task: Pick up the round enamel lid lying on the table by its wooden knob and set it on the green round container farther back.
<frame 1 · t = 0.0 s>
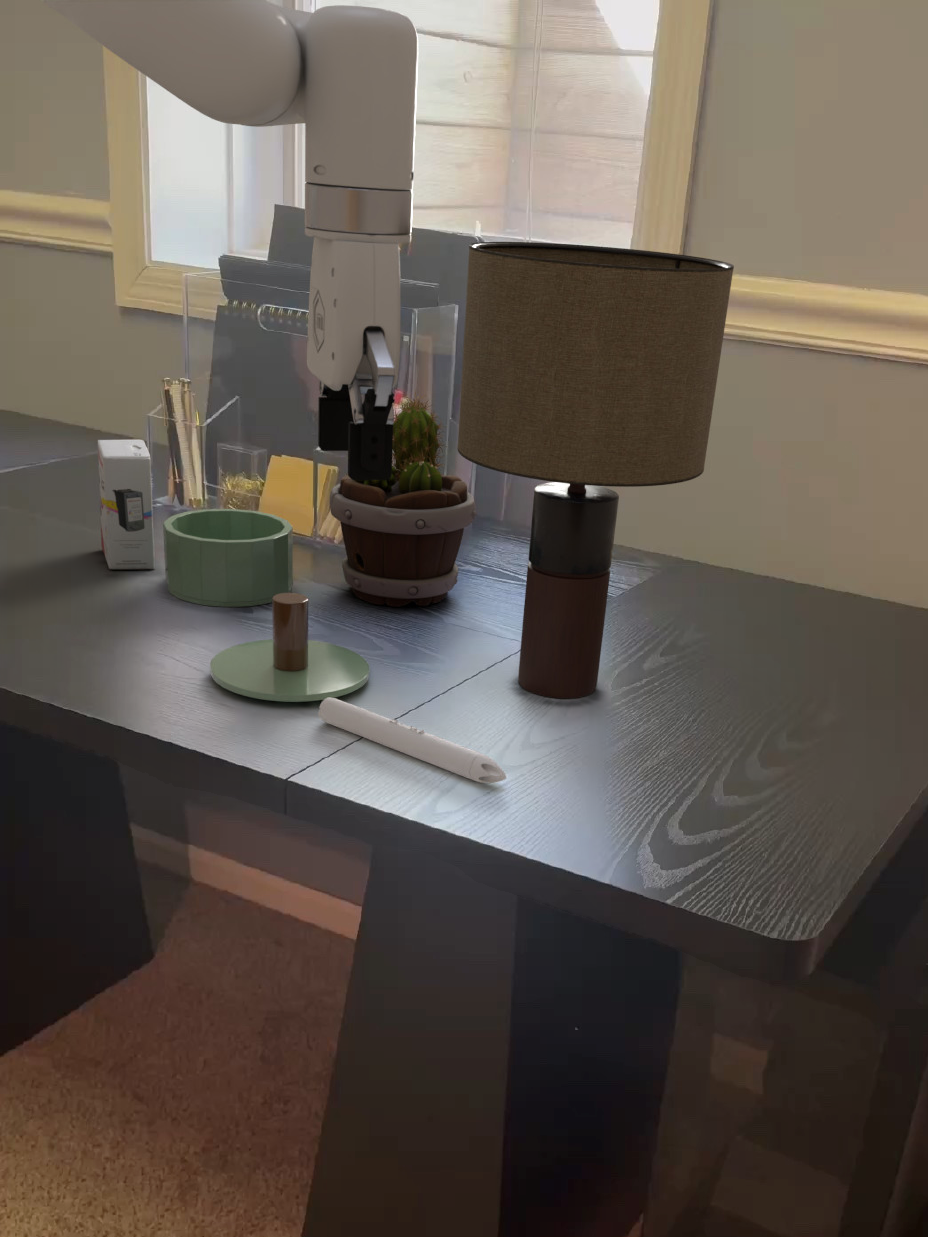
hand: (353, 463, 99), 20 cm above the table, tool pointing down, fingers open, 9 cm apart
green round container: (229, 587, 134), on the table
lamp: (556, 686, 116), on the table
ink box: (129, 561, 140), on the table
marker: (411, 756, 100), on the table
flowerpot: (399, 595, 136), on the table
lid: (290, 671, 112), point 1 cm above the table
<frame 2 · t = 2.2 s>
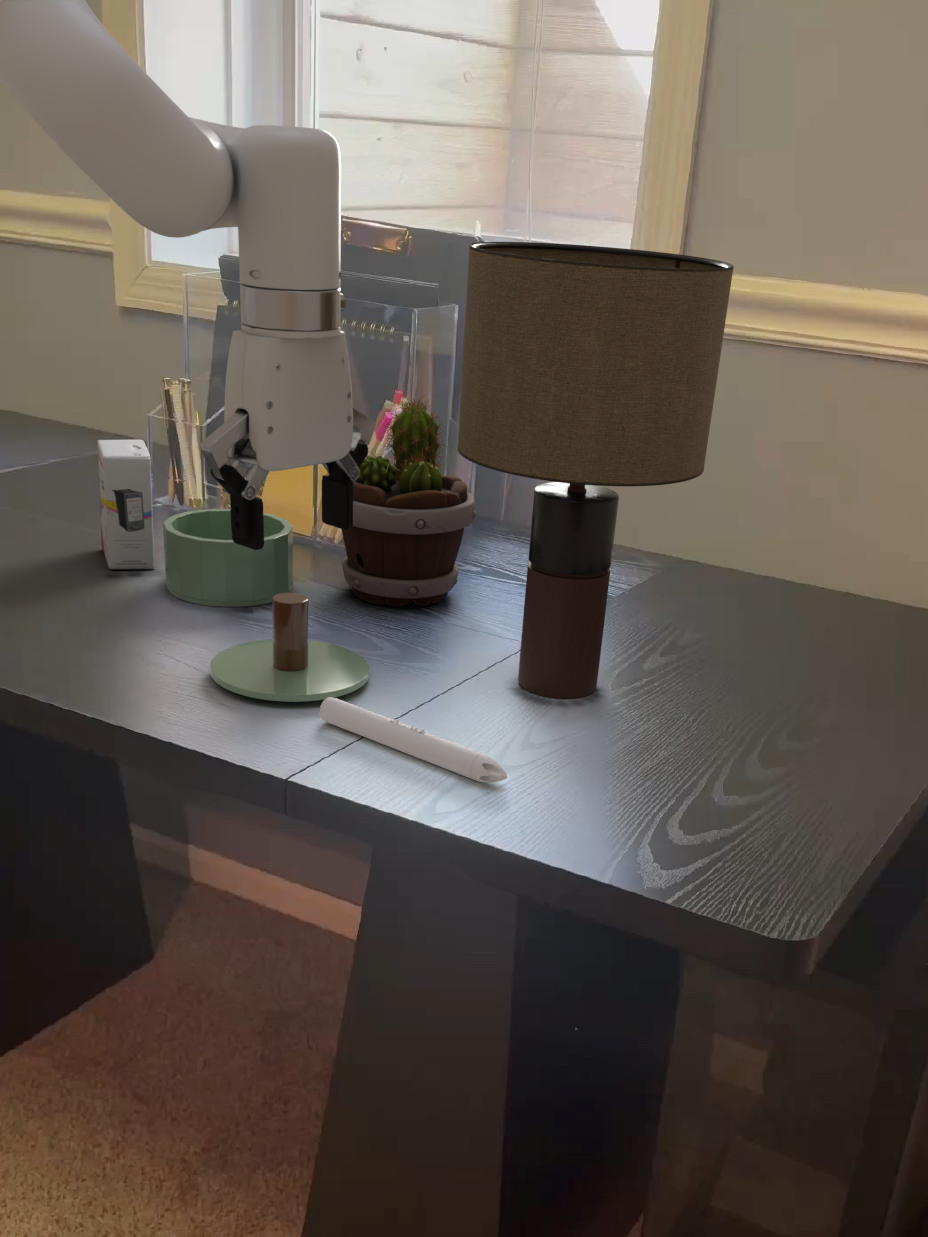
hand: (294, 535, 107), 12 cm above the table, tool pointing down, fingers open, 9 cm apart
nothing on the table moved.
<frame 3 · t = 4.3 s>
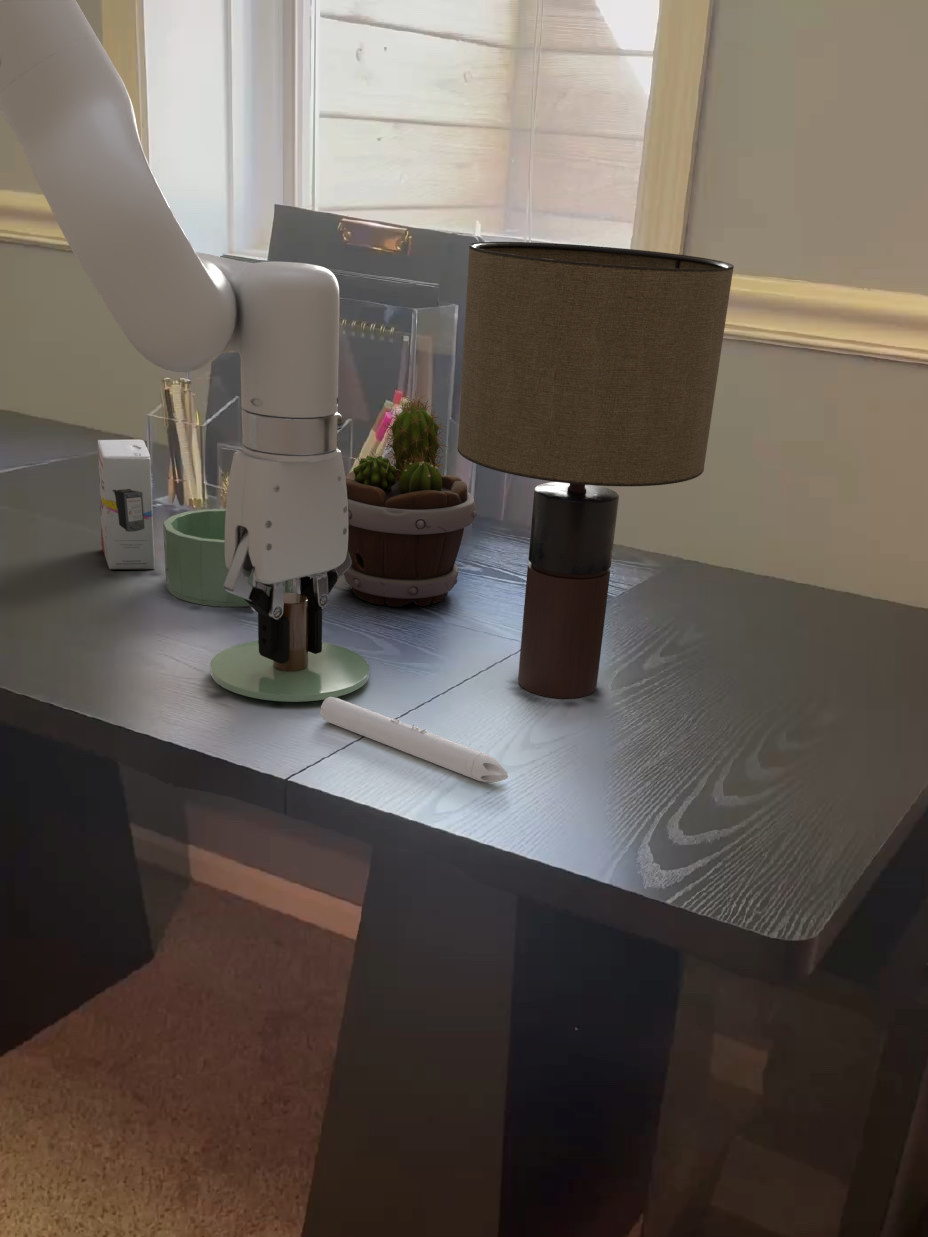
hand: (290, 651, 111), 2 cm above the table, tool pointing down, fingers closed on lid, 3 cm apart
lid: (290, 671, 112), point 1 cm above the table, touching gripper
everything else where it was.
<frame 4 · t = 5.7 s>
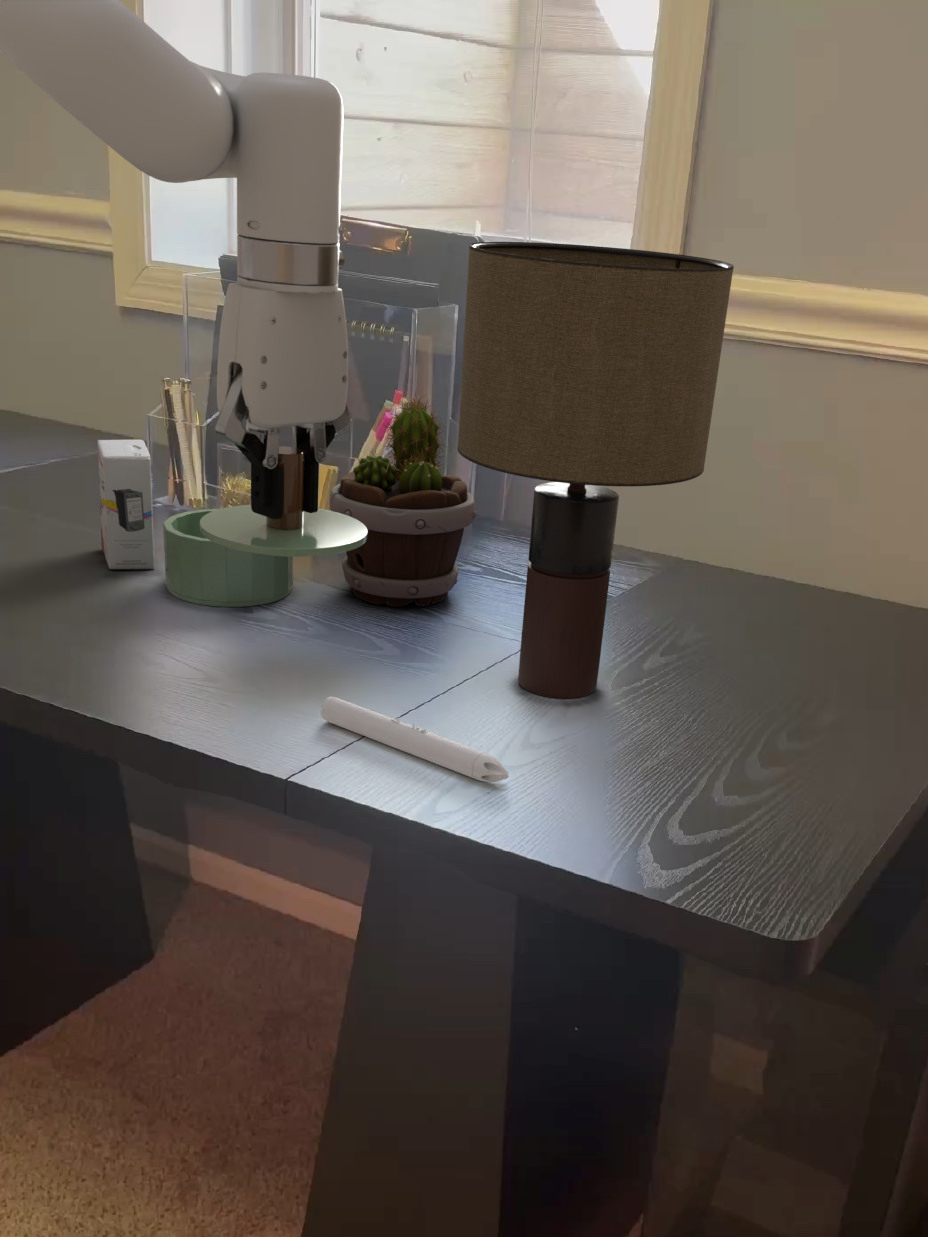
hand: (284, 509, 106), 15 cm above the table, tool pointing down, fingers closed on lid, 3 cm apart
lid: (284, 532, 106), point 13 cm above the table, touching gripper
everything else where it was.
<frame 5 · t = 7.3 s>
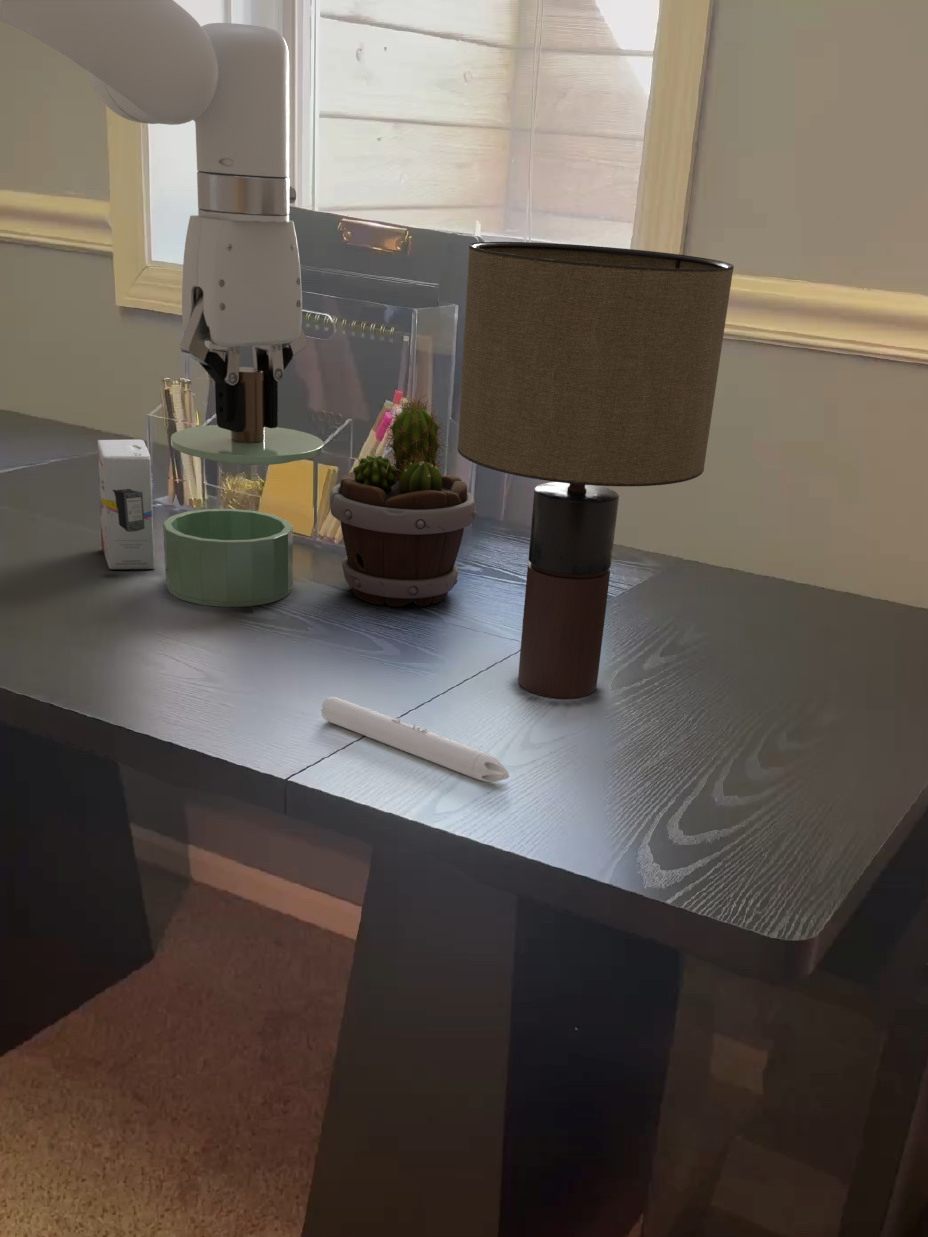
hand: (247, 425, 117), 18 cm above the table, tool pointing down, fingers closed on lid, 3 cm apart
lid: (247, 446, 118), point 16 cm above the table, touching gripper
everything else where it was.
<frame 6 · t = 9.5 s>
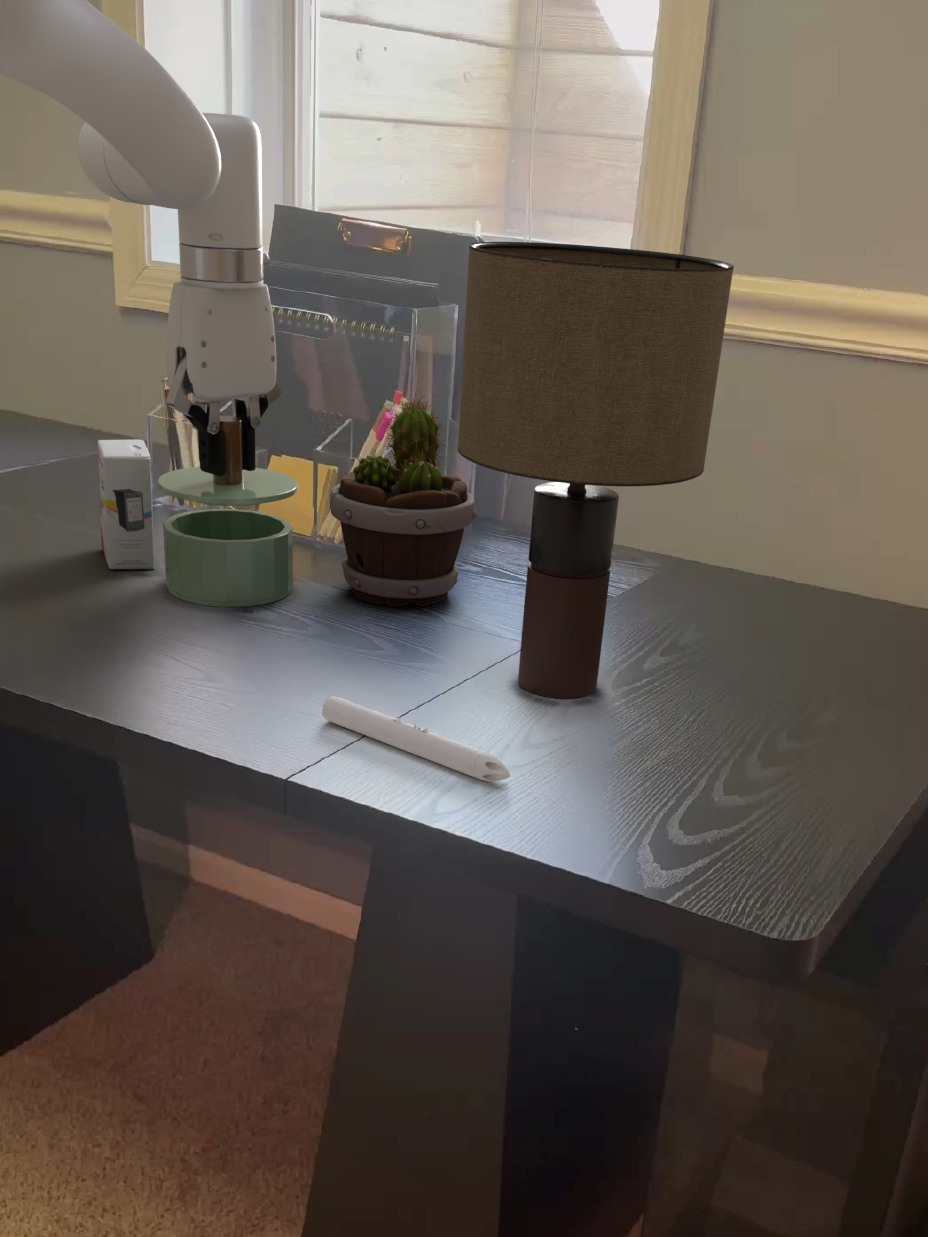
hand: (227, 468, 128), 12 cm above the table, tool pointing down, fingers closed on lid, 3 cm apart
lid: (228, 487, 129), point 10 cm above the table, touching gripper
everything else where it was.
when the fingers open (8 cm above the table, at t = 10.7 s): lid stays where it is, resting on green round container.
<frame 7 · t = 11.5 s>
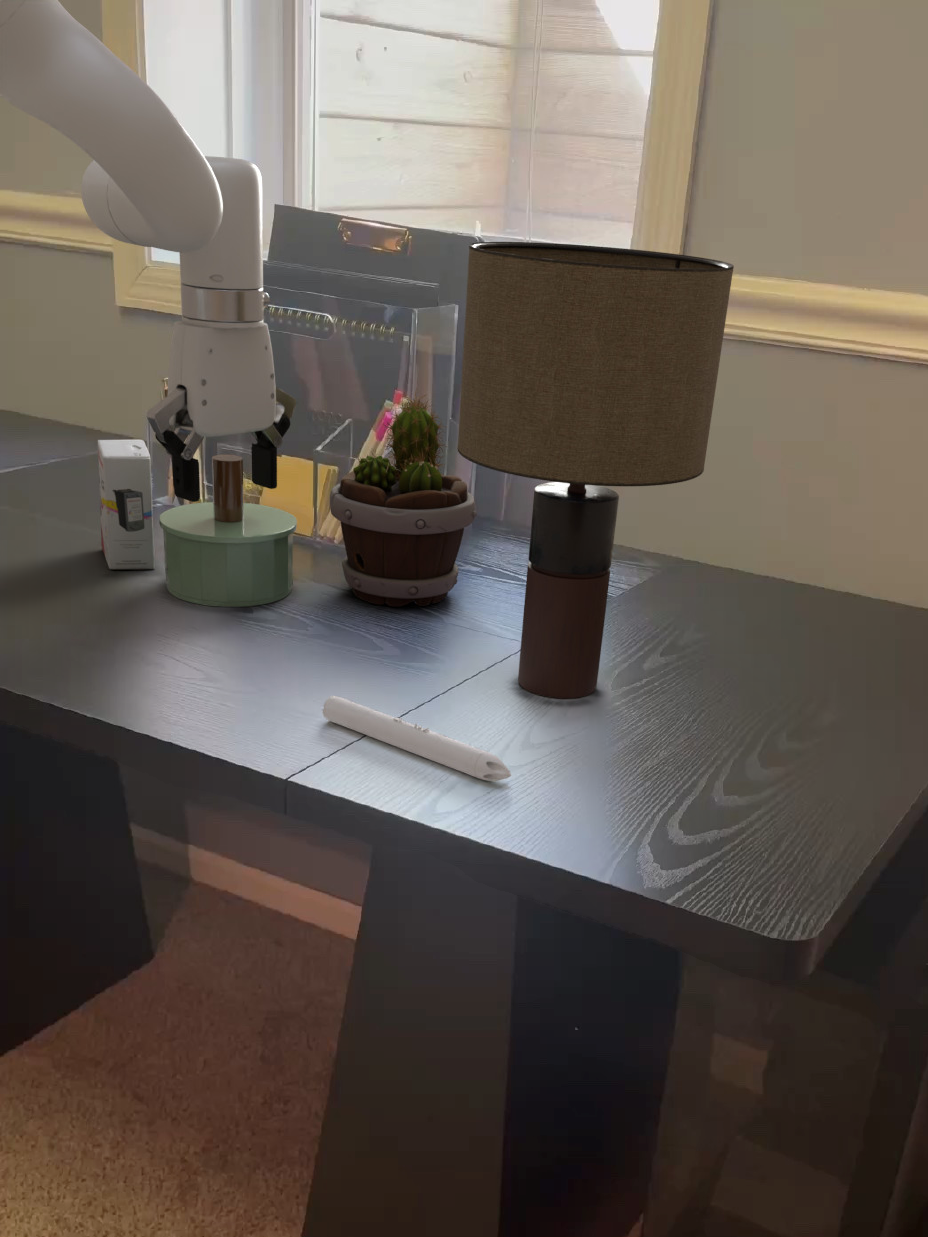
hand: (226, 492, 129), 10 cm above the table, tool pointing down, fingers open, 9 cm apart
lid: (228, 524, 131), point 6 cm above the table, touching green round container
everything else where it was.
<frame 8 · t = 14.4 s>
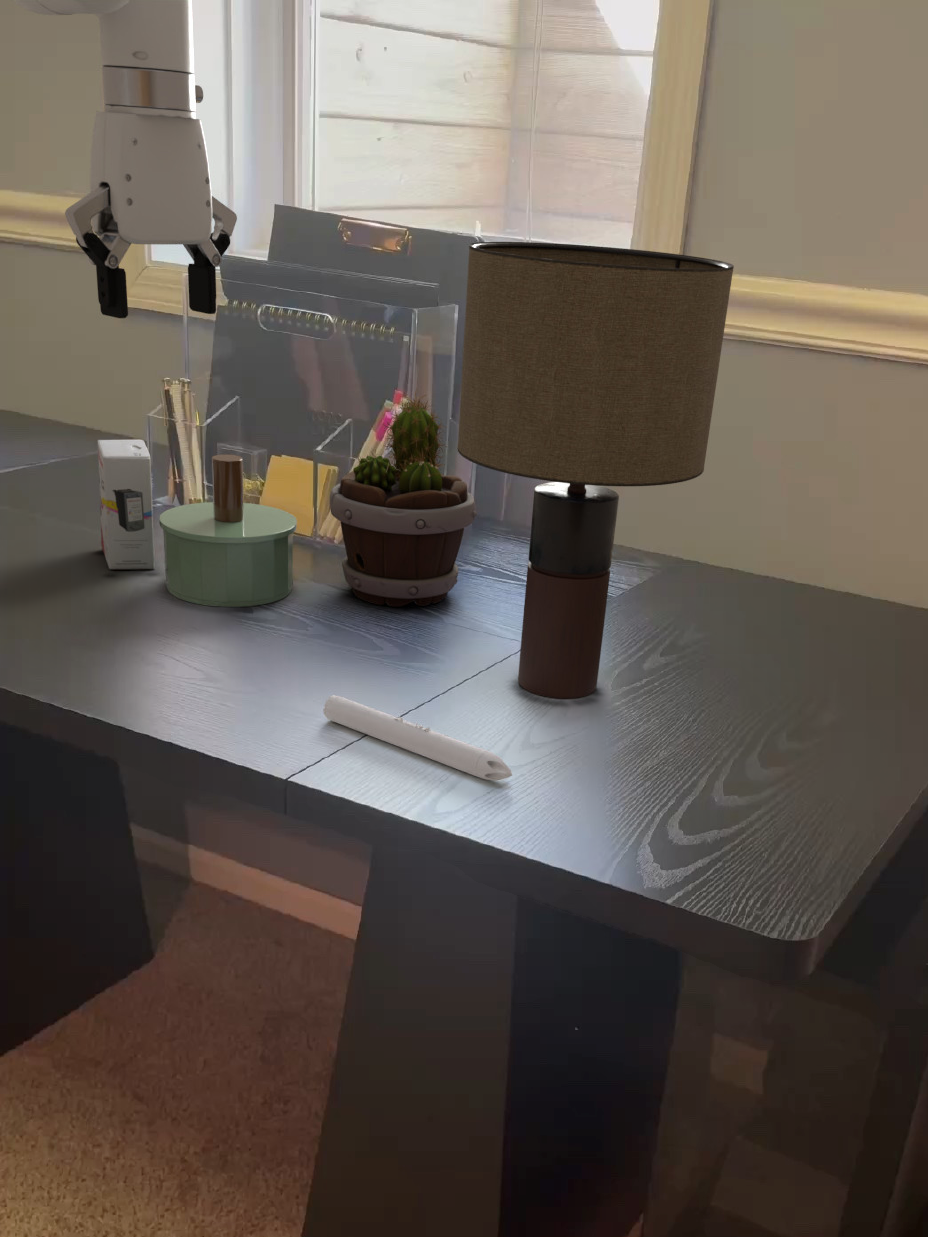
hand: (159, 313, 118), 26 cm above the table, tool pointing down, fingers open, 9 cm apart
nothing on the table moved.
at the end: lid 0.1 cm off-centre on the green round container, point 6.5 cm above the green round container's base; lid tilted 0° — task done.
